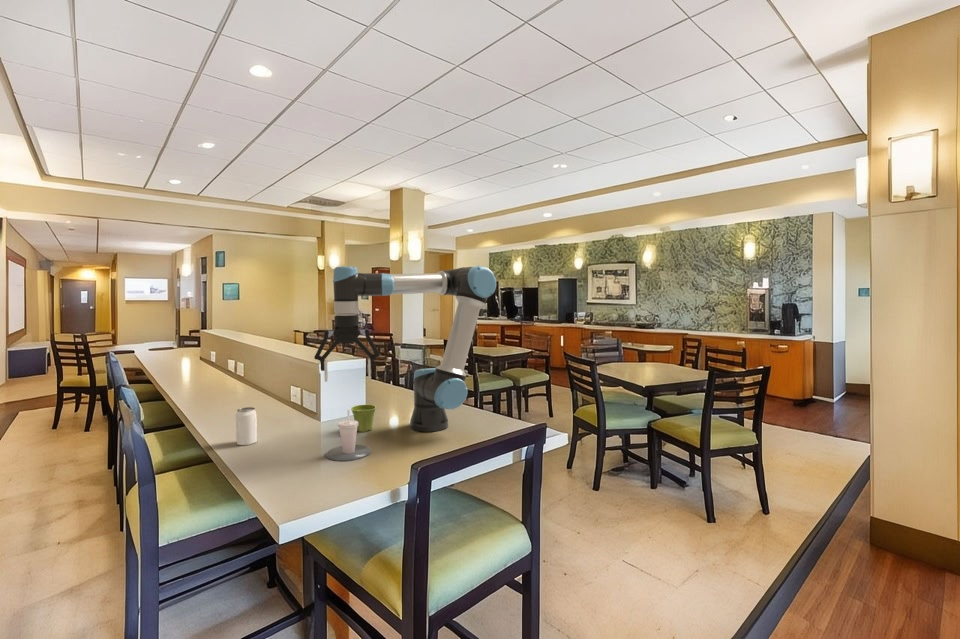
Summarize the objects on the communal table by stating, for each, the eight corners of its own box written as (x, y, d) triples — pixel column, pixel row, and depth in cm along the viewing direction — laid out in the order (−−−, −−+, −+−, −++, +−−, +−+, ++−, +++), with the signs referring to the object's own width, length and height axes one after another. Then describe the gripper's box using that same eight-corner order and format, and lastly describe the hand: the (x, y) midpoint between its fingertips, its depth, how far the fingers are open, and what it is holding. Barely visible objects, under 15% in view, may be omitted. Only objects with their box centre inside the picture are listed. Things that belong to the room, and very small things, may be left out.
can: (232, 444, 161) (231, 410, 160) (247, 439, 167) (246, 406, 166) (246, 446, 159) (245, 412, 158) (261, 441, 165) (260, 407, 164)
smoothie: (339, 456, 148) (339, 412, 147) (337, 449, 154) (336, 408, 153) (360, 453, 150) (359, 410, 150) (357, 447, 156) (356, 406, 156)
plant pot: (374, 433, 174) (374, 410, 174) (349, 433, 174) (348, 410, 173) (378, 425, 184) (377, 404, 183) (354, 426, 183) (353, 404, 182)
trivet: (370, 444, 161) (370, 443, 161) (371, 458, 147) (371, 457, 147) (327, 448, 157) (327, 446, 157) (324, 462, 144) (324, 461, 144)
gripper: (385, 313, 156) (386, 375, 158) (306, 314, 150) (308, 379, 151) (386, 314, 149) (387, 379, 150) (304, 316, 143) (306, 384, 144)
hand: (348, 379), depth 151 cm, fingers open, 13 cm apart
